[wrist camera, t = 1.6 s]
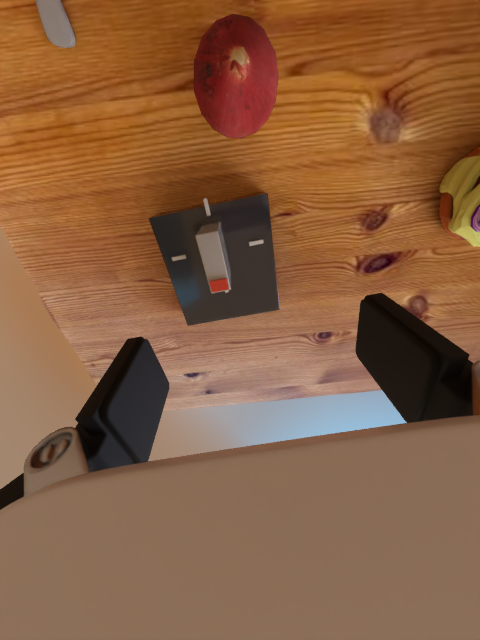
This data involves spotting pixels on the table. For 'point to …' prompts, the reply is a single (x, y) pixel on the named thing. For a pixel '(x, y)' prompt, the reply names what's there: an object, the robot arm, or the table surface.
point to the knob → (214, 257)
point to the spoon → (56, 23)
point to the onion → (235, 76)
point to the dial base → (242, 249)
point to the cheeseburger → (462, 199)
